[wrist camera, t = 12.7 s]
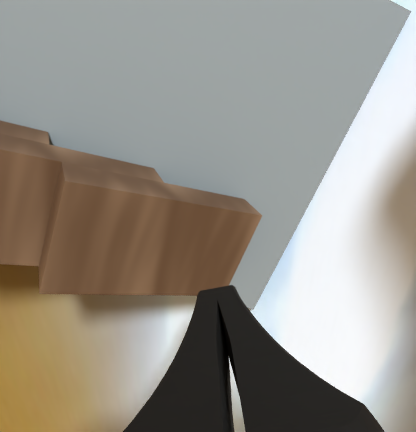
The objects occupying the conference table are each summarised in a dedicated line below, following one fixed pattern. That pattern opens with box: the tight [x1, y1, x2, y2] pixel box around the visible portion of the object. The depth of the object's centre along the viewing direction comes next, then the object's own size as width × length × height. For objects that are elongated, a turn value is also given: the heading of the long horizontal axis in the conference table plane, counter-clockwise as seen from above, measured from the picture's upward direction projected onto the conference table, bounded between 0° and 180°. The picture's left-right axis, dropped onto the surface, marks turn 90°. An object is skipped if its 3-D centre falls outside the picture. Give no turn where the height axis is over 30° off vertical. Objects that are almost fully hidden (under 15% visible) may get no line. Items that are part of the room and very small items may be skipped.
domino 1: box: [0, 134, 164, 266], centre depth 15 cm, size 2×5×9 cm
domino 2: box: [39, 162, 262, 296], centre depth 16 cm, size 2×5×9 cm
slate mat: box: [0, 0, 411, 309], centre depth 15 cm, size 27×17×1 cm, turn 69°
